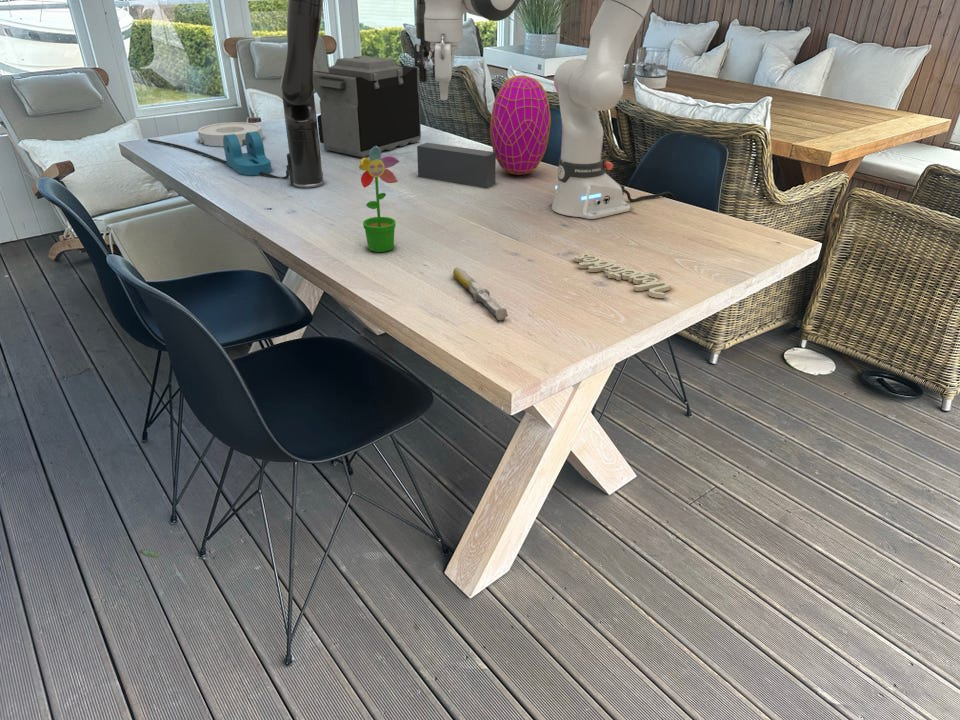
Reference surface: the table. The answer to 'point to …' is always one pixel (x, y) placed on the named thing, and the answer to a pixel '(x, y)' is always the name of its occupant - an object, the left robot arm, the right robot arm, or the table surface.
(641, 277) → the decorative sign
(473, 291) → the syringe
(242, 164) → the camera mount
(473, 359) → the table surface
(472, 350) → the table surface
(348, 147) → the cooler
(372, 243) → the potted flower
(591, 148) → the right robot arm
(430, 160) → the box
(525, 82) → the decorative egg
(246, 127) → the ashtray
